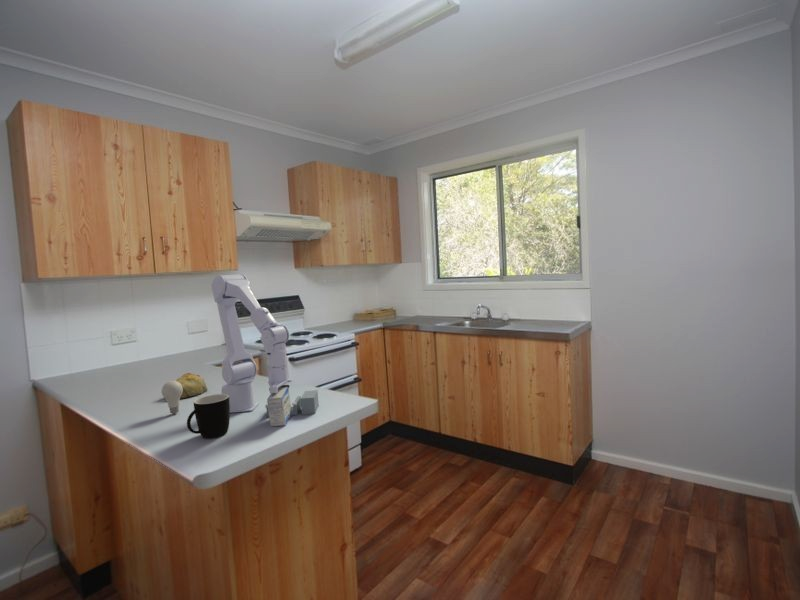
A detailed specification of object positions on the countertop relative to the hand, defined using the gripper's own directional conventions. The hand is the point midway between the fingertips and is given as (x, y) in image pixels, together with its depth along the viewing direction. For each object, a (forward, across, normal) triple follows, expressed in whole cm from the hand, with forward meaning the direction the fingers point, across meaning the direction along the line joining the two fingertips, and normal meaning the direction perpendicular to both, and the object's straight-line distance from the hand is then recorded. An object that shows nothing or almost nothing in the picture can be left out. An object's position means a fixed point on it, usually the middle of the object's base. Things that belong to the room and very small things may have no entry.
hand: (281, 409), depth 129 cm
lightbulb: (+2, +11, +37) cm, 39 cm away
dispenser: (+2, +4, -3) cm, 5 cm away
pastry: (+3, +35, +43) cm, 56 cm away
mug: (+2, -12, +17) cm, 21 cm away
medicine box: (+2, -4, -1) cm, 5 cm away
